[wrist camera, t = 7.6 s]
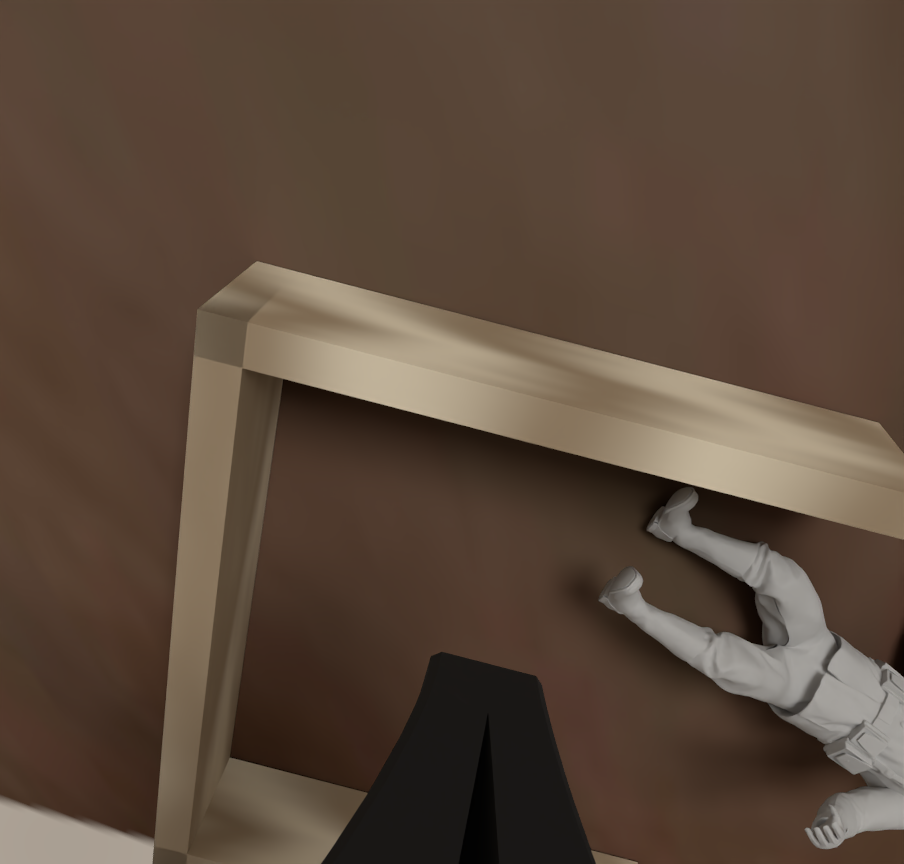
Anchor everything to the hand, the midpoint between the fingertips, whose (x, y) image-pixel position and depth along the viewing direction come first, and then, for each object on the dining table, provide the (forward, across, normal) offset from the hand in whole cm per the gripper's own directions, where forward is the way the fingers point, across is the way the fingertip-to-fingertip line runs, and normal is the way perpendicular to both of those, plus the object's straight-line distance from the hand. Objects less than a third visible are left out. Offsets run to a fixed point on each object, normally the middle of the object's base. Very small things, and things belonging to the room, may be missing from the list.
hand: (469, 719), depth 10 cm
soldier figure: (+11, -9, +5) cm, 15 cm away
